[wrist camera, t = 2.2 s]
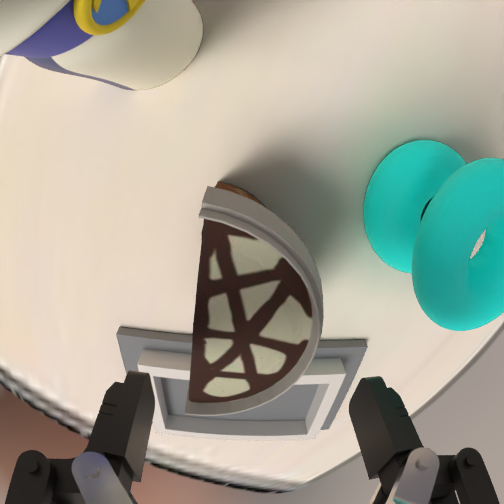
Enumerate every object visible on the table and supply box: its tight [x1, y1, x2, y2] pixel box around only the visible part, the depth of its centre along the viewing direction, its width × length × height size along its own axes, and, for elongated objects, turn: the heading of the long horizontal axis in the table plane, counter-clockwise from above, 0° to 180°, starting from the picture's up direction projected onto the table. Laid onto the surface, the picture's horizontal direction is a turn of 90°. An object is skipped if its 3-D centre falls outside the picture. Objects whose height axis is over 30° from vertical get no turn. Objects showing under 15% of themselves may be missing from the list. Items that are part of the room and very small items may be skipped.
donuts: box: [363, 140, 504, 331], centre depth 16 cm, size 10×10×10 cm
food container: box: [185, 182, 323, 416], centre depth 17 cm, size 12×6×10 cm, turn 170°
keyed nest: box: [116, 327, 368, 441], centre depth 26 cm, size 22×14×3 cm, turn 85°
